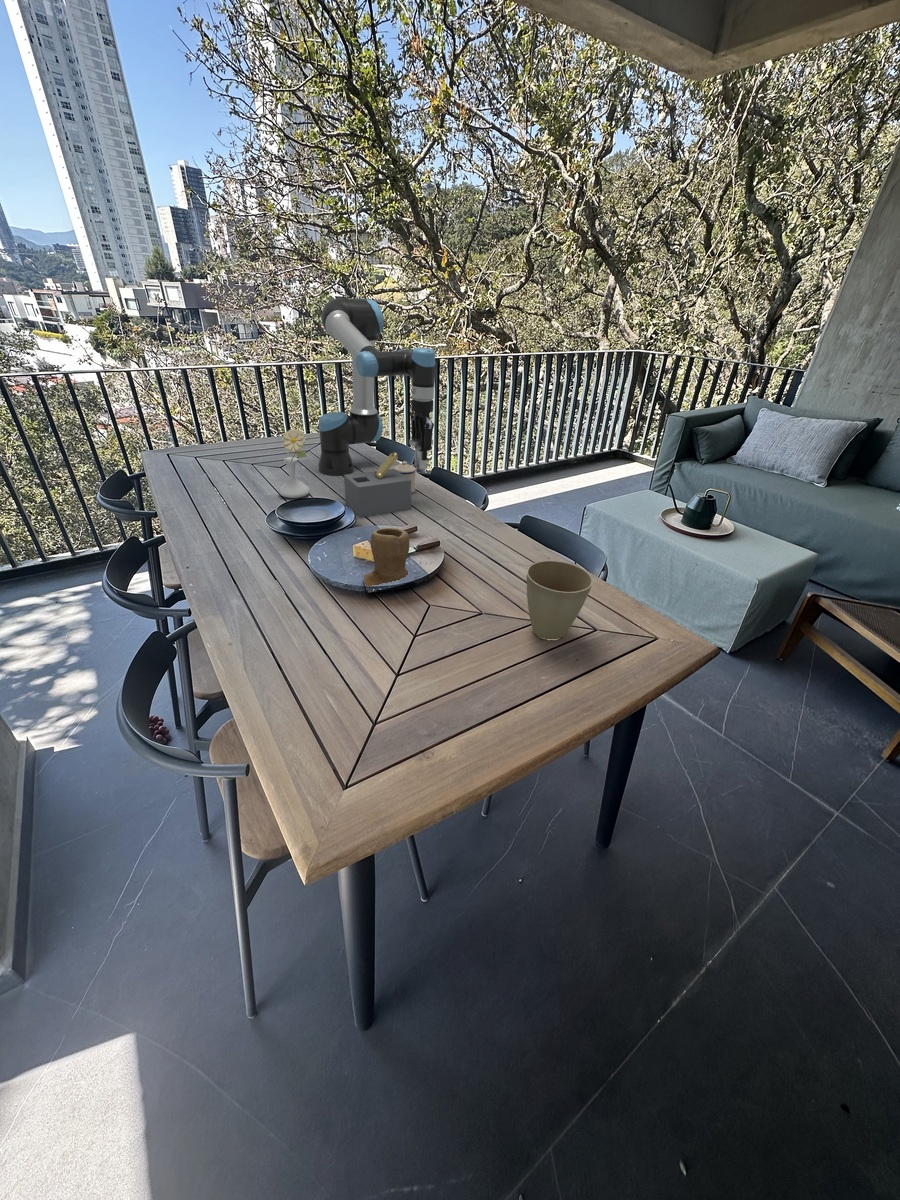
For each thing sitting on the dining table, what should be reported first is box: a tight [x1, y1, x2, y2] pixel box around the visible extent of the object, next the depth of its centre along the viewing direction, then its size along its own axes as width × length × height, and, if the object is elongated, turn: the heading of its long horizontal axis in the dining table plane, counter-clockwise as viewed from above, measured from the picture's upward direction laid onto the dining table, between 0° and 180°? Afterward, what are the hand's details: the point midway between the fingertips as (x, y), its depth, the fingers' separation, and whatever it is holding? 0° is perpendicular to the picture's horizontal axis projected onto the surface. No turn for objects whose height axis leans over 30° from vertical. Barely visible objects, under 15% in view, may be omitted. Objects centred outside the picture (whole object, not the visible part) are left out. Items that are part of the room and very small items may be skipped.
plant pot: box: [526, 560, 594, 639], centre depth 117 cm, size 15×15×16 cm
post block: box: [343, 468, 412, 518], centre depth 181 cm, size 14×20×11 cm
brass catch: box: [374, 451, 399, 479], centre depth 178 cm, size 4×11×2 cm
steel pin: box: [408, 438, 434, 474], centre depth 180 cm, size 3×8×12 cm, turn 120°
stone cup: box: [363, 527, 410, 593], centre depth 134 cm, size 15×12×15 cm
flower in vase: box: [278, 428, 311, 499], centre depth 183 cm, size 13×11×25 cm
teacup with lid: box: [392, 460, 417, 494], centre depth 196 cm, size 12×9×12 cm
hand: (420, 466), depth 182 cm, fingers closed on steel pin, 3 cm apart
